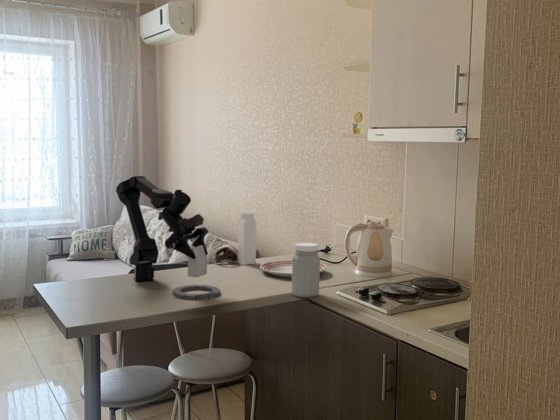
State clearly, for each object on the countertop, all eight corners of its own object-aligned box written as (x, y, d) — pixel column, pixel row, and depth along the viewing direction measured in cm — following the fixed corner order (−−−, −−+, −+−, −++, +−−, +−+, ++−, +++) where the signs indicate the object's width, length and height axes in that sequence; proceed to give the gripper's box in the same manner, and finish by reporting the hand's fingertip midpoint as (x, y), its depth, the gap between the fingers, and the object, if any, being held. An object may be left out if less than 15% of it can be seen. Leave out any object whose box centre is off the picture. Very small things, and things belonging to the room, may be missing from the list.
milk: (255, 264, 262) (257, 214, 260) (243, 265, 259) (244, 214, 257) (249, 261, 268) (250, 212, 265) (237, 262, 265) (238, 212, 262)
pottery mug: (240, 266, 258) (232, 251, 255) (220, 275, 259) (212, 260, 256) (239, 254, 270) (231, 239, 266) (220, 263, 270) (212, 248, 267)
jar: (285, 294, 210) (286, 243, 208) (303, 289, 218) (305, 240, 216) (306, 299, 204) (308, 247, 202) (324, 294, 211) (326, 244, 209)
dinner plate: (249, 277, 237) (250, 268, 237) (272, 264, 263) (272, 257, 263) (316, 283, 229) (317, 275, 228) (333, 270, 254) (333, 262, 254)
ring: (178, 301, 198) (178, 297, 198) (168, 289, 213) (168, 286, 213) (225, 297, 204) (225, 294, 204) (212, 286, 219) (212, 283, 219)
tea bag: (206, 273, 210) (207, 245, 209) (197, 277, 204) (197, 248, 203) (197, 272, 212) (198, 244, 211) (187, 276, 206) (188, 247, 204)
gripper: (172, 209, 199) (199, 246, 195) (204, 204, 215) (229, 238, 212) (153, 230, 203) (179, 266, 200) (186, 224, 220) (210, 257, 216)
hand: (200, 256), depth 207 cm, fingers closed on tea bag, 7 cm apart
